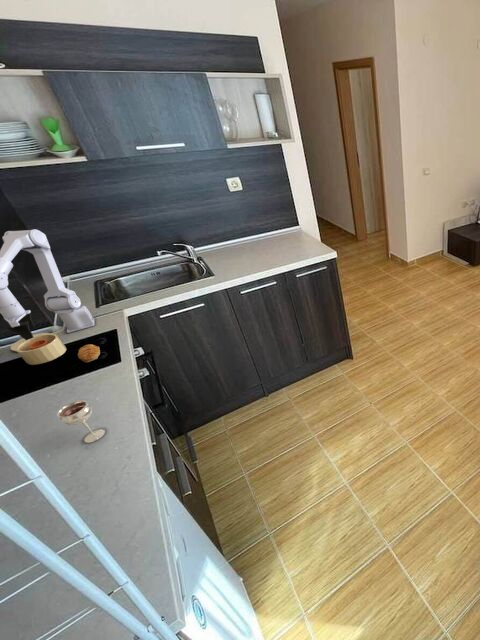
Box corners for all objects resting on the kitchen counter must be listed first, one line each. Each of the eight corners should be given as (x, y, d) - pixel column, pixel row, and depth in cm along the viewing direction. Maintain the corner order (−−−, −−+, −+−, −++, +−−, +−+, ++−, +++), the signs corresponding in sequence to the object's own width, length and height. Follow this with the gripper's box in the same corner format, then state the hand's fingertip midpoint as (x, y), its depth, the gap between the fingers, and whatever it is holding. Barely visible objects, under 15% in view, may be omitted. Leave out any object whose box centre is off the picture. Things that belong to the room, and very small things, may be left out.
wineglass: (93, 446, 103) (70, 419, 97) (74, 443, 104) (50, 416, 98) (114, 428, 109) (93, 401, 102) (96, 425, 110) (74, 398, 103)
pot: (66, 342, 148) (57, 330, 144) (66, 356, 140) (56, 343, 137) (27, 354, 141) (17, 341, 138) (24, 368, 134) (13, 355, 130)
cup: (55, 348, 144) (47, 337, 141) (54, 354, 140) (46, 343, 137) (37, 353, 141) (29, 343, 138) (36, 360, 137) (27, 349, 134)
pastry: (103, 358, 138) (98, 351, 136) (81, 366, 135) (75, 358, 132) (100, 348, 144) (95, 341, 142) (79, 355, 140) (73, 348, 138)
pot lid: (54, 331, 155) (48, 323, 153) (52, 344, 147) (46, 335, 144) (14, 342, 148) (7, 334, 146) (10, 356, 140) (2, 347, 138)
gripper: (19, 308, 125) (43, 338, 132) (24, 293, 134) (45, 322, 142) (-9, 314, 121) (17, 345, 129) (-2, 299, 131) (21, 329, 138)
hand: (30, 334), depth 135 cm, fingers open, 7 cm apart
